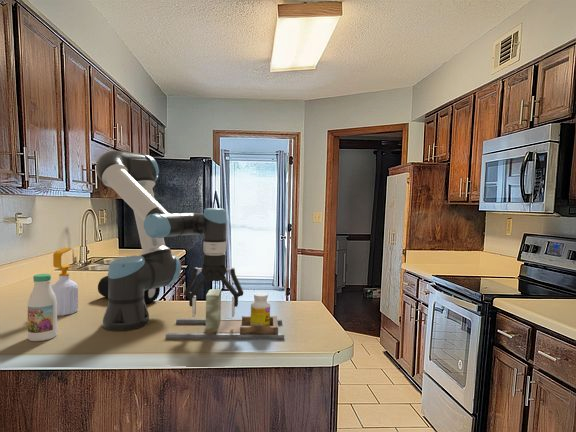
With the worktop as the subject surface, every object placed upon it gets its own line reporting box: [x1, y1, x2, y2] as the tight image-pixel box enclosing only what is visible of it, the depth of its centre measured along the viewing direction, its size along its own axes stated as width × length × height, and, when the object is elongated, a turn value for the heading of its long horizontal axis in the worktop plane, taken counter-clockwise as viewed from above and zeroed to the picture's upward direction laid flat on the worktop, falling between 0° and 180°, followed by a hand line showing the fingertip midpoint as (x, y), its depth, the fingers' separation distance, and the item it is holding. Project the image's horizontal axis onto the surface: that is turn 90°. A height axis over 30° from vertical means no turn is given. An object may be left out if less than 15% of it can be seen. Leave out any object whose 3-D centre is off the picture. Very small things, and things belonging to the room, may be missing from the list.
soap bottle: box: [51, 247, 79, 317], centre depth 140 cm, size 9×9×25 cm
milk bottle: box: [27, 273, 58, 342], centre depth 116 cm, size 8×8×20 cm
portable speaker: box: [97, 275, 161, 304], centre depth 159 cm, size 26×10×10 cm, turn 74°
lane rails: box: [165, 318, 285, 340], centre depth 126 cm, size 38×15×2 cm, turn 94°
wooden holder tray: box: [202, 288, 279, 334], centre depth 126 cm, size 24×11×13 cm, turn 94°
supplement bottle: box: [249, 292, 271, 326], centre depth 127 cm, size 7×7×13 cm
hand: (213, 315), depth 126 cm, fingers open, 12 cm apart
